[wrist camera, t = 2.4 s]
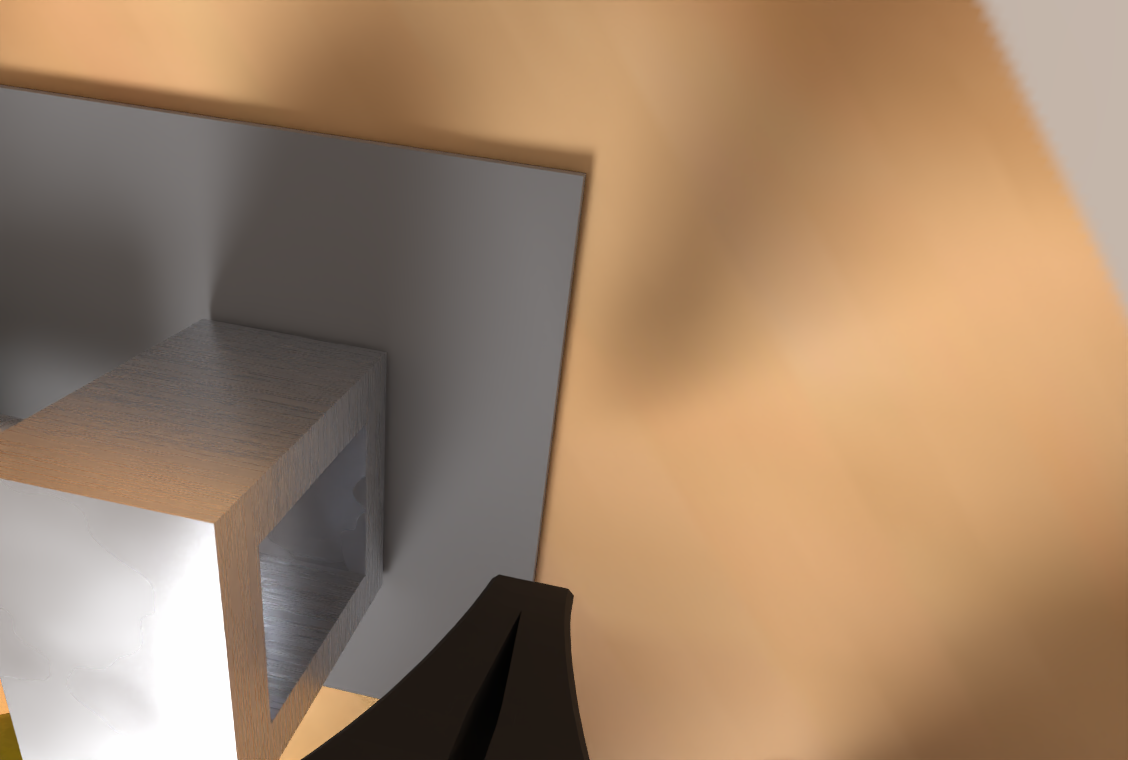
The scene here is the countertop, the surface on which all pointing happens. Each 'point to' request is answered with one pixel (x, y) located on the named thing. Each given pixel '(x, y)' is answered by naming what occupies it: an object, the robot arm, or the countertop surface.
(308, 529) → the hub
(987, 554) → the countertop surface
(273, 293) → the mat
